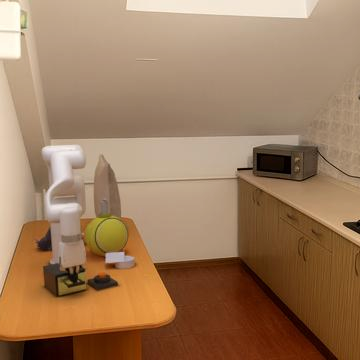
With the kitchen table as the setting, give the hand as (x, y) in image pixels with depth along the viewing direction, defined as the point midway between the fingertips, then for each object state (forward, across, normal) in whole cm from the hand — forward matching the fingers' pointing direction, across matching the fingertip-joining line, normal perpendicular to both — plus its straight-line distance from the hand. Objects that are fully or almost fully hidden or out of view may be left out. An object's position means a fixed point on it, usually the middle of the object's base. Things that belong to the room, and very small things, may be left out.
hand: (74, 282), depth 223 cm
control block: (+6, -14, -5) cm, 16 cm away
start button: (+3, -14, -5) cm, 15 cm away
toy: (+6, -33, -43) cm, 55 cm away
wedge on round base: (+6, -31, -23) cm, 39 cm away
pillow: (+5, -52, -84) cm, 99 cm away
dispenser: (+6, 0, -11) cm, 13 cm away
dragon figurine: (+6, -20, -71) cm, 74 cm away
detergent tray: (+5, 0, -6) cm, 8 cm away
